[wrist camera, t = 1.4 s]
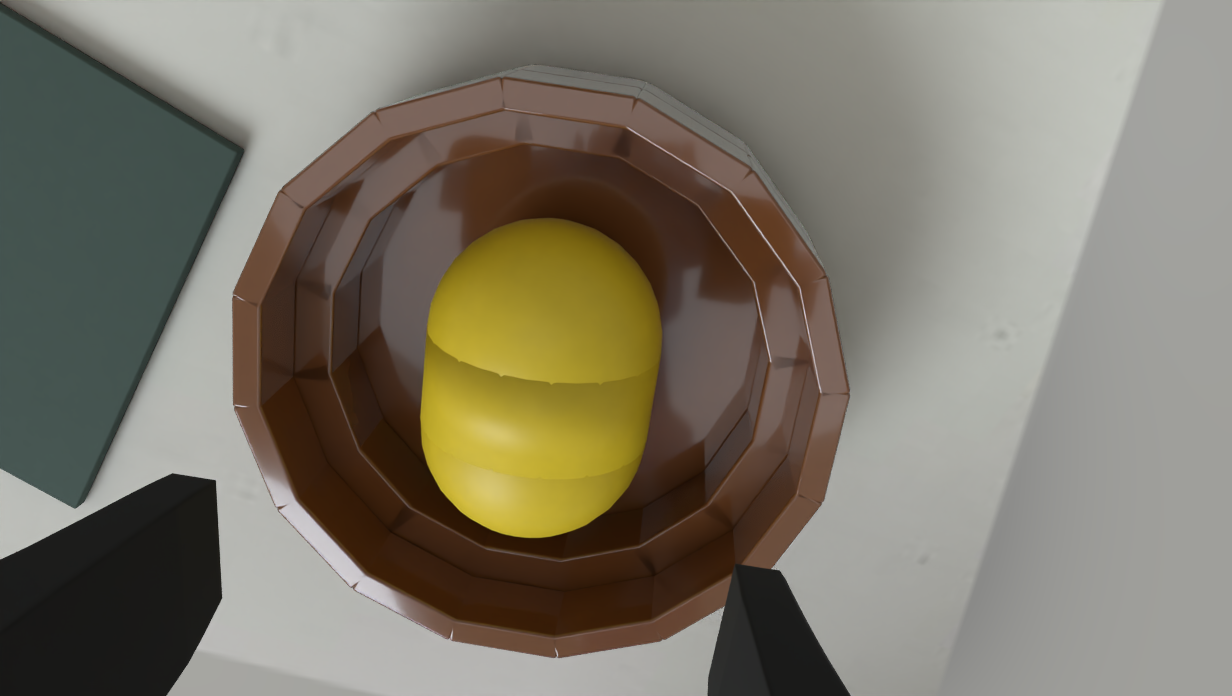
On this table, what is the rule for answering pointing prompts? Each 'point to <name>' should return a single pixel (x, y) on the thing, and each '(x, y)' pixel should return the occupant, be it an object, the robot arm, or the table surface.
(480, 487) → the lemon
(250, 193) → the table surface
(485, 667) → the table surface
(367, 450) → the bowl
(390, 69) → the table surface
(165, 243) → the runner
